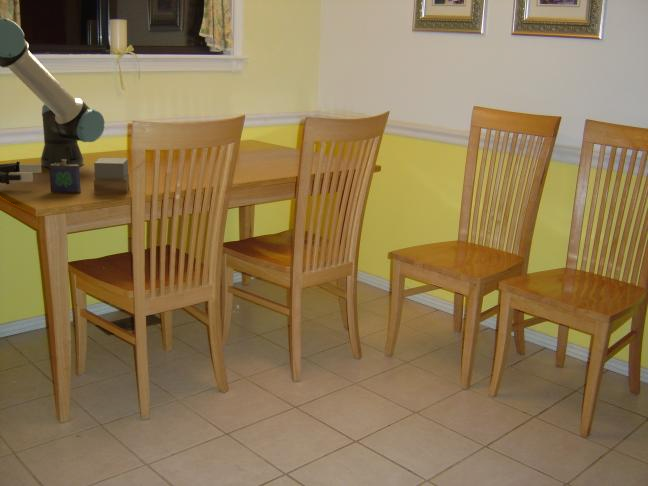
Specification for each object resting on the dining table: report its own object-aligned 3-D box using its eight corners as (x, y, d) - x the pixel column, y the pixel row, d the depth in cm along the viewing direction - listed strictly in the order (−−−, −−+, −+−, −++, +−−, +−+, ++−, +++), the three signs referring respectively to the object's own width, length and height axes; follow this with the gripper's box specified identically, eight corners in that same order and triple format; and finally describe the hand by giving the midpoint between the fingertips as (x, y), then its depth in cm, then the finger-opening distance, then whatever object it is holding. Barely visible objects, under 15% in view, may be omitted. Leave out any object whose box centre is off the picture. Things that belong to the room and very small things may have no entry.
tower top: (100, 173, 248) (99, 157, 247) (128, 173, 249) (127, 158, 248) (94, 178, 240) (94, 163, 238) (123, 179, 241) (123, 163, 239)
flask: (81, 191, 242) (79, 158, 239) (79, 193, 239) (77, 160, 236) (51, 191, 241) (49, 158, 238) (49, 193, 239) (47, 159, 236)
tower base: (98, 187, 250) (97, 173, 248) (129, 187, 251) (128, 173, 250) (94, 194, 240) (93, 179, 239) (127, 194, 242) (126, 179, 240)
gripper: (-24, 176, 246) (45, 176, 250) (-47, 193, 223) (29, 193, 226) (-26, 153, 244) (43, 153, 248) (-49, 168, 221) (27, 168, 224)
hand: (37, 172), depth 237 cm, fingers open, 13 cm apart
